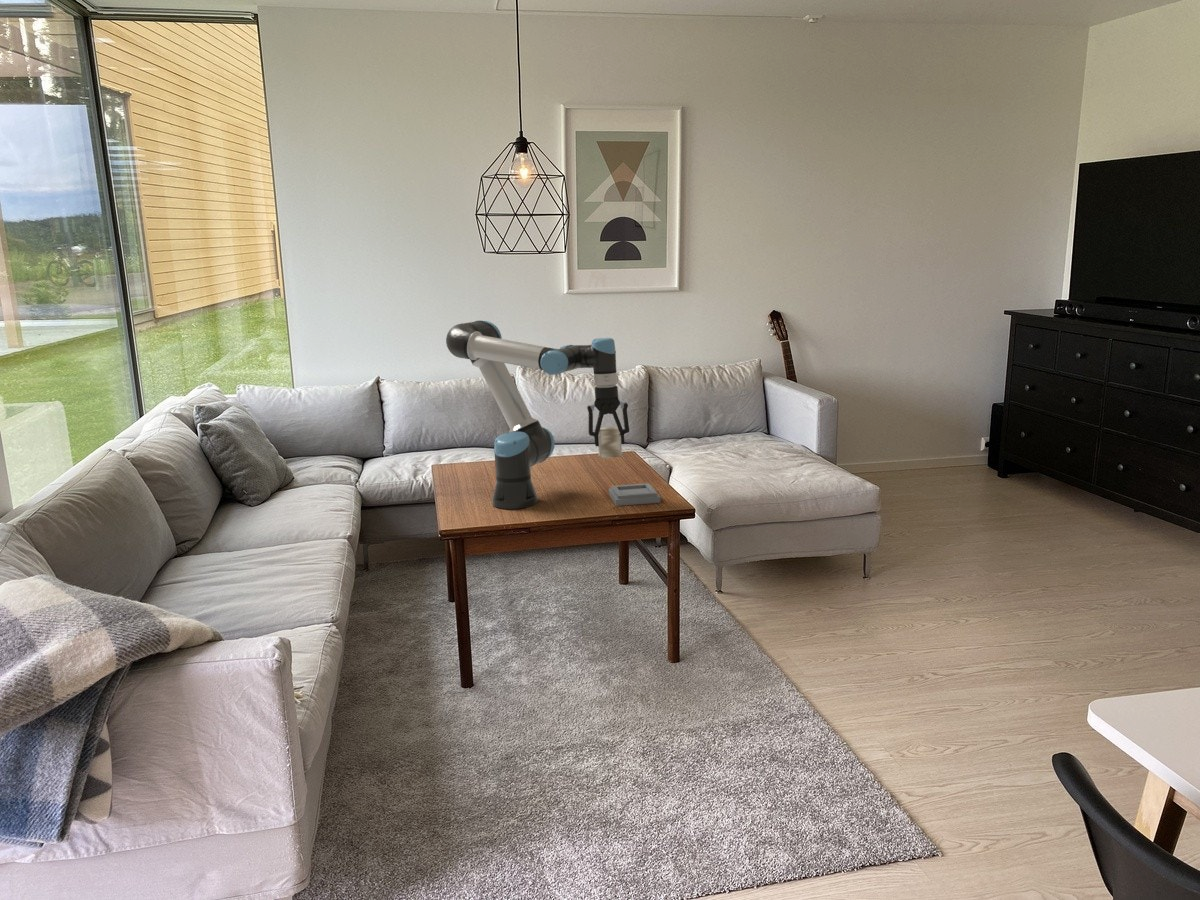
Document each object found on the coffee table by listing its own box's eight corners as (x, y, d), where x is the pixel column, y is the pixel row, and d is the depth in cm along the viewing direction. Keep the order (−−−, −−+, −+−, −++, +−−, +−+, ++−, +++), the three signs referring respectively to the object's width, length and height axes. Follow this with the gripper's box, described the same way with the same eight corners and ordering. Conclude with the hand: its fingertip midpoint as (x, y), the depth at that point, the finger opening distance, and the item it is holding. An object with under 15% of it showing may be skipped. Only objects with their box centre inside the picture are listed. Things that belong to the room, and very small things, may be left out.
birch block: (602, 458, 288) (600, 431, 286) (600, 454, 294) (598, 428, 292) (620, 456, 288) (618, 429, 286) (618, 453, 294) (616, 426, 292)
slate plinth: (615, 505, 288) (615, 497, 287) (608, 493, 302) (608, 485, 302) (660, 502, 290) (660, 493, 289) (651, 490, 304) (651, 482, 304)
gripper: (578, 389, 281) (583, 459, 286) (636, 385, 283) (640, 454, 288) (576, 386, 289) (580, 454, 294) (633, 382, 291) (636, 450, 295)
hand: (610, 454), depth 291 cm, fingers closed on birch block, 6 cm apart
